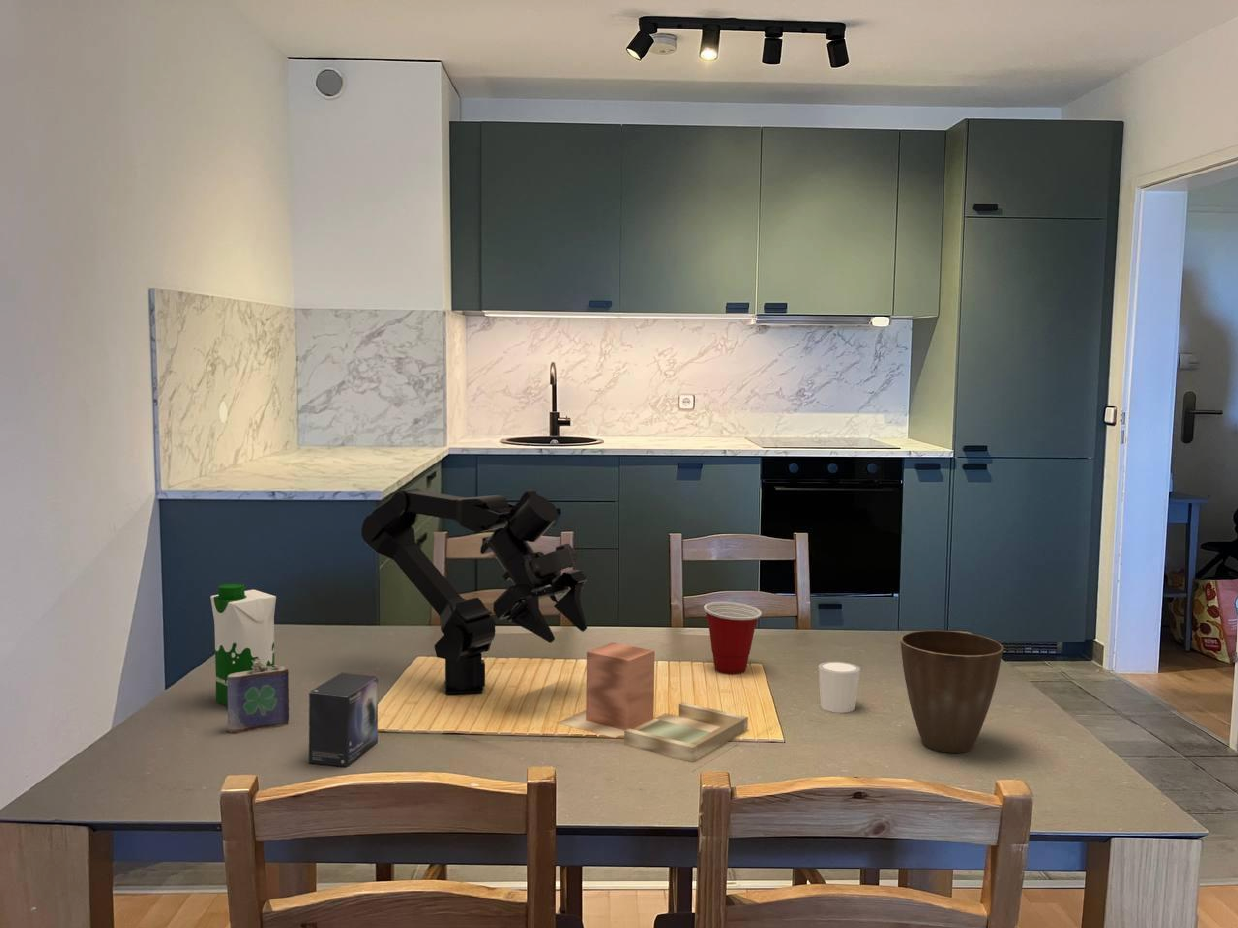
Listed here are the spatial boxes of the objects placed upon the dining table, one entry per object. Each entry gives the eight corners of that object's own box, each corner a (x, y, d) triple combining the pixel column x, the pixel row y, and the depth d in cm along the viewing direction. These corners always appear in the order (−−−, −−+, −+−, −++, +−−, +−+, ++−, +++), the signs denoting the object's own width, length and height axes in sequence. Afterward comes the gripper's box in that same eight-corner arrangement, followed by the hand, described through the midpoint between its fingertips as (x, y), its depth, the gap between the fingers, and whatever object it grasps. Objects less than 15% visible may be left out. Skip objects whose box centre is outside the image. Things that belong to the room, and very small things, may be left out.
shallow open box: (552, 733, 165) (552, 711, 164) (613, 706, 178) (613, 686, 178) (692, 771, 150) (692, 747, 150) (747, 739, 164) (747, 716, 163)
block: (586, 720, 167) (586, 651, 166) (611, 708, 172) (612, 642, 171) (628, 731, 162) (629, 660, 161) (653, 718, 168) (654, 650, 167)
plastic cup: (745, 682, 193) (746, 617, 191) (692, 672, 198) (693, 609, 197) (769, 668, 202) (771, 605, 201) (718, 658, 207) (719, 598, 206)
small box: (349, 768, 150) (348, 695, 149) (306, 764, 151) (305, 692, 150) (380, 742, 160) (380, 674, 159) (340, 738, 162) (339, 671, 161)
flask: (229, 734, 163) (228, 665, 162) (225, 728, 165) (224, 661, 164) (291, 724, 167) (290, 658, 166) (286, 719, 170) (285, 653, 169)
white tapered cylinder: (862, 704, 181) (864, 664, 181) (853, 716, 175) (855, 674, 174) (822, 698, 184) (824, 658, 183) (812, 709, 178) (813, 669, 177)
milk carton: (207, 701, 178) (204, 583, 176) (258, 689, 184) (255, 575, 182) (233, 713, 172) (230, 591, 170) (284, 701, 178) (282, 583, 176)
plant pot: (886, 726, 170) (890, 628, 169) (980, 728, 170) (985, 630, 168) (909, 761, 156) (913, 654, 154) (1012, 763, 155) (1017, 656, 154)
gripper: (509, 536, 166) (563, 618, 161) (579, 522, 181) (631, 596, 176) (470, 578, 171) (521, 658, 166) (542, 561, 186) (591, 634, 181)
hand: (569, 635), depth 172 cm, fingers open, 8 cm apart
